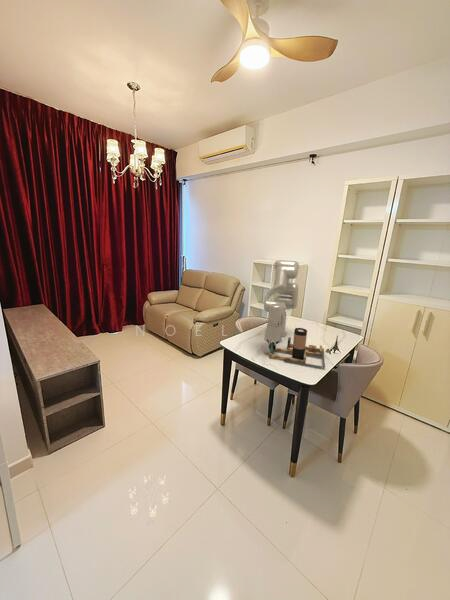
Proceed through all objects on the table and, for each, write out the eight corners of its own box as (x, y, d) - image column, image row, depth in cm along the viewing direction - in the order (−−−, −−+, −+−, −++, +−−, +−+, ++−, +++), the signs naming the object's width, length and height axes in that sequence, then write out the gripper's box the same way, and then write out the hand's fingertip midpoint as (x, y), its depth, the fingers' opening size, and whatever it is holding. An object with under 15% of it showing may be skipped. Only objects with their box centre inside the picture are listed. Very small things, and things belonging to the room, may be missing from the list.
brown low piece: (268, 358, 157) (269, 346, 155) (272, 350, 168) (272, 339, 166) (305, 365, 149) (306, 353, 147) (305, 356, 160) (307, 345, 158)
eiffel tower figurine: (328, 346, 178) (331, 329, 175) (344, 350, 173) (346, 332, 170) (324, 353, 166) (326, 335, 163) (340, 358, 161) (343, 339, 158)
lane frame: (283, 362, 152) (284, 358, 151) (288, 345, 176) (288, 342, 175) (324, 369, 144) (324, 366, 144) (323, 351, 168) (323, 348, 167)
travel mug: (289, 356, 160) (292, 327, 155) (300, 356, 160) (304, 327, 156) (294, 362, 152) (297, 332, 147) (305, 362, 153) (309, 332, 148)
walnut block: (307, 354, 164) (308, 347, 162) (307, 351, 168) (308, 344, 167) (315, 355, 162) (316, 348, 161) (315, 352, 166) (316, 346, 165)
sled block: (286, 351, 166) (287, 340, 164) (287, 346, 174) (288, 336, 173) (321, 358, 159) (322, 346, 157) (321, 352, 167) (322, 341, 165)
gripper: (260, 323, 156) (259, 349, 160) (286, 326, 150) (283, 354, 155) (263, 319, 163) (261, 345, 167) (287, 323, 157) (284, 349, 162)
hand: (272, 349), depth 161 cm, fingers closed on brown low piece
